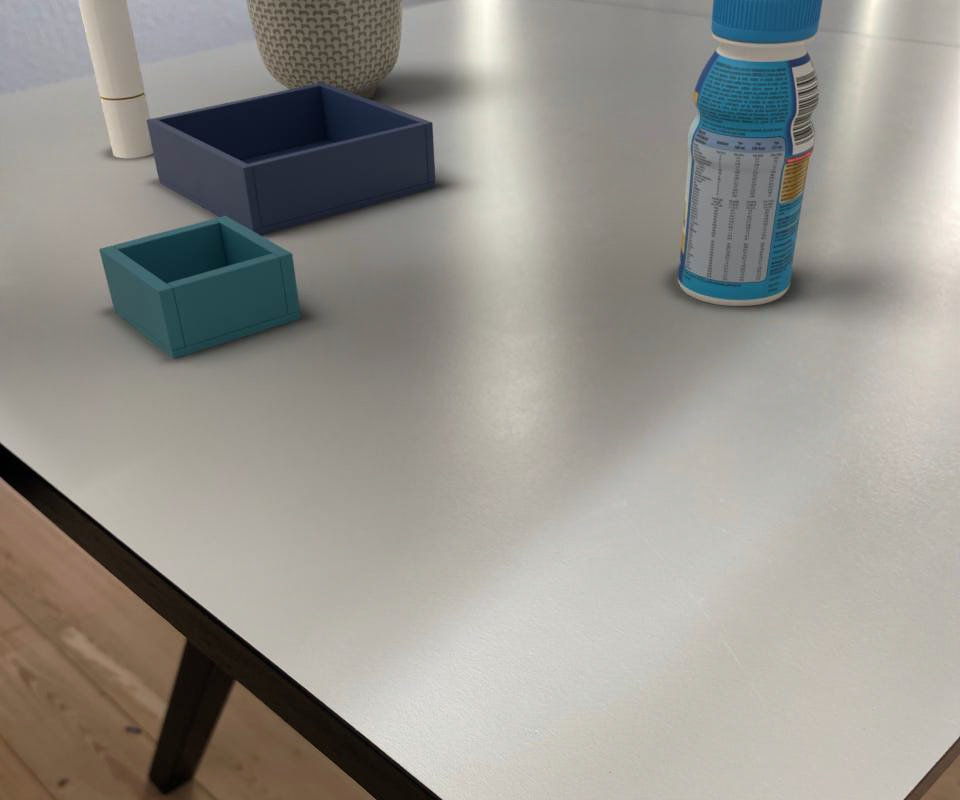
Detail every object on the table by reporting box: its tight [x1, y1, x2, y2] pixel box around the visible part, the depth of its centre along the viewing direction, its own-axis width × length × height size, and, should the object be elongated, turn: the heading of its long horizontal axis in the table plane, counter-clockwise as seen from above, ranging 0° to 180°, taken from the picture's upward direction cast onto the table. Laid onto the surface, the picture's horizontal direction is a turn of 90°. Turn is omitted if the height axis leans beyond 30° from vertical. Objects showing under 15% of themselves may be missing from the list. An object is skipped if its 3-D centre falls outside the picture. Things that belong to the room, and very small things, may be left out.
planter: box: [245, 0, 404, 100], centre depth 121 cm, size 17×17×16 cm
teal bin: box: [99, 216, 302, 360], centre depth 80 cm, size 10×10×5 cm
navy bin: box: [147, 83, 437, 236], centre depth 101 cm, size 19×19×6 cm
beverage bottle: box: [677, 0, 823, 307], centre depth 76 cm, size 8×8×20 cm
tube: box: [77, 0, 154, 159], centre depth 108 cm, size 4×4×15 cm
